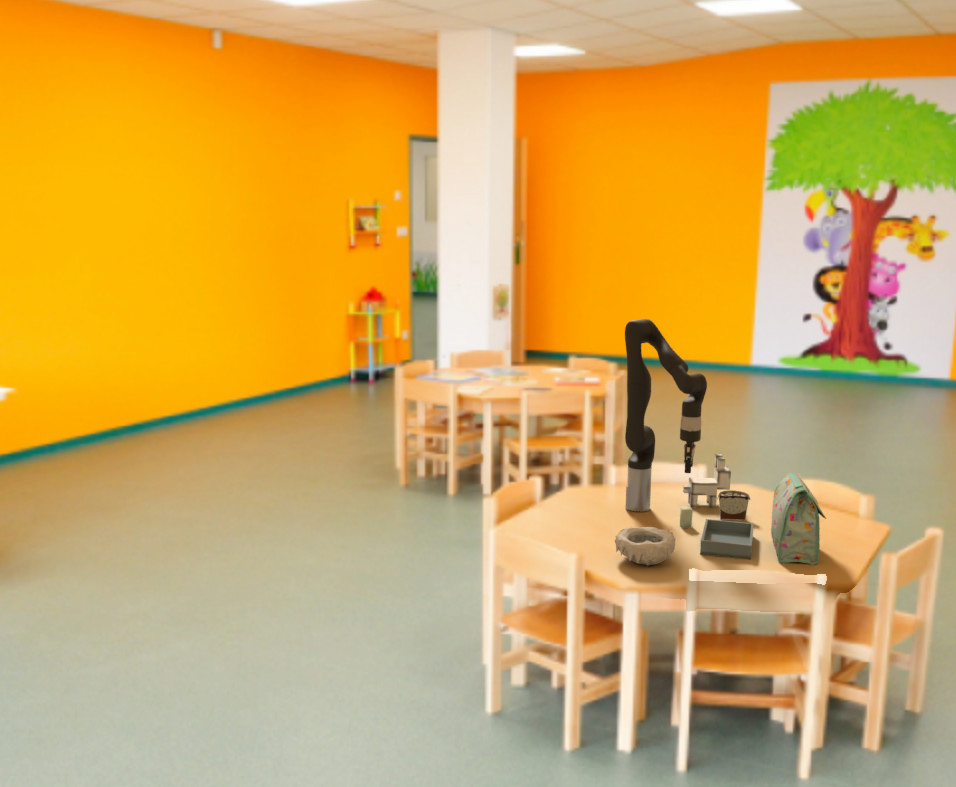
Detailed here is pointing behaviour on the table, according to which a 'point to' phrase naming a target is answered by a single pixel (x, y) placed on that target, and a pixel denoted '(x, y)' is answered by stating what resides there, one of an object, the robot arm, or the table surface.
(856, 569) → the table surface
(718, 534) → the bin
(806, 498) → the lunch bag
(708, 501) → the toy llama
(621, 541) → the bowl
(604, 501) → the table surface
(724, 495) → the food container
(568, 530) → the table surface
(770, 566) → the table surface
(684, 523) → the sage cylinder
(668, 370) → the robot arm
